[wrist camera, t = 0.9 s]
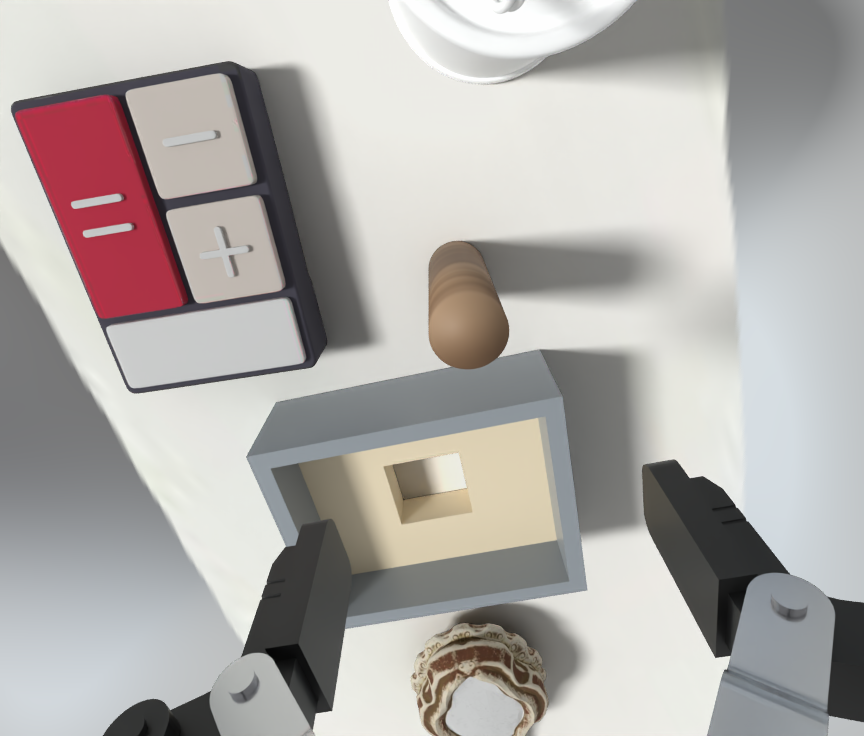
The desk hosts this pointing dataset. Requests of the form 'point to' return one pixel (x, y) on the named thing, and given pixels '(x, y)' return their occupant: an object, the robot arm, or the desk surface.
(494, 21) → the white cylindrical bottle
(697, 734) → the desk surface
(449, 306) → the peg
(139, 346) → the calculator
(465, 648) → the hand mirror
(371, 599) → the grey open box
